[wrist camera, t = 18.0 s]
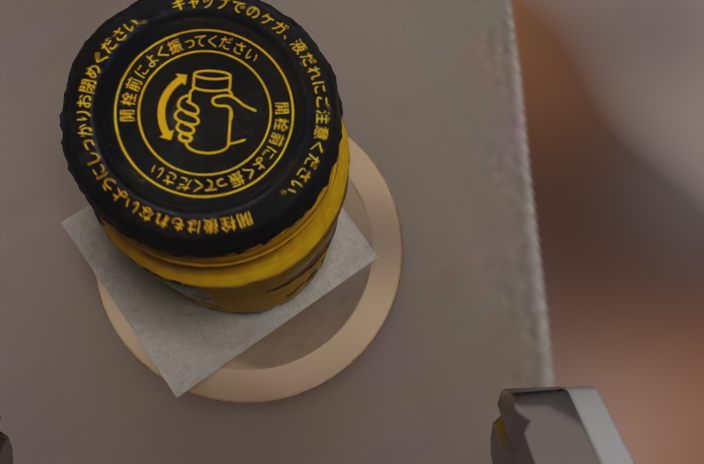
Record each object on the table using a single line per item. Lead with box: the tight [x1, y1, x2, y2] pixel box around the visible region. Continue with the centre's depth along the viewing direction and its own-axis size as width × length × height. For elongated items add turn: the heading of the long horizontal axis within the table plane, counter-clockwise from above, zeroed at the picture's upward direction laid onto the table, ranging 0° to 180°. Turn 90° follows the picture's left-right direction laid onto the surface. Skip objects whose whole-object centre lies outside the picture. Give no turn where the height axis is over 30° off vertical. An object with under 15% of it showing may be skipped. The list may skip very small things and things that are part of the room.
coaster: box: [95, 136, 403, 403], centre depth 25 cm, size 11×11×2 cm
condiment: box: [59, 0, 378, 398], centre depth 18 cm, size 7×8×12 cm
